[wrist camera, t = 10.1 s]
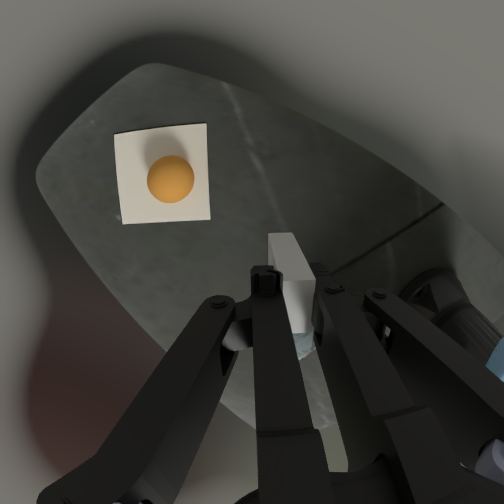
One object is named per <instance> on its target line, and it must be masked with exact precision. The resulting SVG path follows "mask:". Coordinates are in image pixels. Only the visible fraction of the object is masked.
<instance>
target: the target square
mask: <svg viewBox="0 0 504 504" xmlns="http://www.w3.org/2000/svg"><path fill="white" fill-rule="evenodd" d="M114 143H115V158H116V171H117V181H118V191H119V199H120V207H121V215H122V222H123V224H135V223H151V222H169V221H190V220H210V202H209V182H208V159H207V128H206V123H205V124H192V125H181V126H171V127H162V128H154V129H147V130H140V131H133V132H127V133H121V134H115V135H114ZM170 155H174V156H179V157H181V158H183V159H185V160H186V161H187V162H188V163H189V164H190V165H191V167H192V169H193V172H194V185H193V188H192V190H191V192H190V193H189V194H188V195H187V196H186V197H185V198H184V199H182V200H181V201H178V202H175V203H164V202H161V201H159V200H157V199H156V198H155V197H154V196H153V195H152V194H151V193H150V191H149V189H148V185H147V175H148V172H149V169H150V167H151V166H152V165H153V163H154V162H155V161H157V160H158V159H160V158H162V157H164V156H170Z"/></svg>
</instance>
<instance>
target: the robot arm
mask: <svg viewBox="0 0 504 504" xmlns="http://www.w3.org/2000/svg"><path fill="white" fill-rule="evenodd" d="M312 324H313V327H314V332H313V340H312V348H311V352H313V351H314V348H315V347H316V350H317V353H318V357H319V360H320V363H321V366H322V370H323V373H324V376H325V380H326V383H327V387H328V390H329V393H330V397H331V400H332V404H333V407H334V411H335V414H336V418H337V421H338V425H339V429H340V432H341V436H342V440H343V443H344V446H345V450H346V455H347V458H348V472H329V469H328V464H327V460H326V455H325V451H324V446H323V442H322V438H321V434H320V432H319V430H318V429H314V427H313V424H312V419H311V414H310V410H309V405H308V400H307V396H306V391H305V387H304V382H303V378H302V373H301V369H300V364H299V360H298V355H297V351H296V347H295V342H294V338H293V334H295V333H309V332H311V326H312ZM386 326H387V327H389V328H390V330H391V331H390V335H389V337H388V336H387V335H385V330H386ZM249 347H253V362H254V389H255V415H256V440H257V464H258V465H257V466H258V489H257V490H254V491H252V492H250V493H248V494H247V495H245V496H244V497H242V498H241V499H239V500H238V501H237V502H236V503H234V504H504V335H503V334H502V333H501V332H500V331H499V330H498V329H497V328H496V327H495V326H494V325H493V324H492V323H491V322H490V321H489V320H488V319H487V318H486V317H485V316H484V315H483V314H482V313H481V312H480V311H478V310H477V309H476V308H475V307H474V306H473V305H472V304H471V302H470V300H469V298H468V296H467V295H466V293H465V291H464V289H463V287H462V285H461V282H460V281H459V279H458V278H457V277H456V276H455V275H453V274H452V273H451V272H450V271H448V270H446V269H442V268H436V269H432V270H429V271H426V272H424V273H422V274H421V275H419V276H418V277H416V278H415V279H414V280H413V281H412V282H411V283H410V284H409V285H408V286H407V287H406V288H405V289H404V291H403V292H402V293H401V295H400V297H397V296H396V295H395V294H393V293H392V292H391V291H389V290H387V289H384V288H382V287H372V288H369V289H367V290H366V291H365V295H364V296H354V295H351V294H350V293H349V291H348V290H347V288H346V287H344V286H343V285H340V284H337V283H335V281H334V279H333V278H332V276H331V275H330V273H329V272H328V270H327V268H326V267H325V266H324V265H322V264H321V263H307V261H306V259H305V257H304V255H303V253H302V251H301V249H300V247H299V245H298V243H297V241H296V239H295V237H294V235H293V233H268V265H264V266H254V267H253V268H252V269H251V296H250V297H249V298H248V299H246V300H244V301H242V302H238V303H235V301H234V299H233V298H231V297H228V296H224V295H216V296H212V297H210V298H207V299H206V300H205V301H204V302H203V303H202V304H201V306H200V307H199V308H198V310H197V311H196V313H195V314H194V315H193V317H192V318H191V320H190V321H189V322H188V324H187V325H186V327H185V328H184V329H183V331H182V332H181V334H180V335H179V336H178V338H177V339H176V341H175V342H174V343H173V345H172V346H171V348H170V349H169V350H168V352H167V353H166V355H165V356H164V357H163V359H162V360H161V362H160V363H159V364H158V366H157V367H156V369H155V370H154V371H153V373H152V374H151V376H150V377H149V379H148V380H147V382H146V383H145V384H144V386H143V387H142V388H141V390H140V391H139V393H138V394H137V396H136V397H135V398H134V400H133V401H132V403H131V404H130V406H129V407H128V408H127V410H126V411H125V413H124V414H123V416H122V417H121V419H120V420H119V421H118V423H117V424H116V426H115V427H114V429H113V430H112V432H111V433H110V434H109V436H108V437H107V439H106V440H105V442H104V443H103V444H102V446H101V447H100V449H99V450H98V452H97V453H96V454H95V455H94V456H93V457H91V458H90V459H88V460H87V461H85V462H84V463H83V464H81V465H80V466H78V467H77V468H75V469H74V470H72V471H71V472H69V473H68V474H66V475H65V476H63V477H62V478H60V479H59V480H57V481H55V482H54V483H52V484H51V485H49V486H48V487H46V488H45V489H44V490H43V491H42V492H41V493H40V494H39V496H38V499H37V501H36V502H37V504H173V503H174V501H175V499H176V497H177V495H178V493H179V491H180V489H181V487H182V485H183V483H184V480H185V478H186V476H187V474H188V471H189V469H190V467H191V465H192V462H193V460H194V458H195V455H196V453H197V451H198V449H199V447H200V444H201V442H202V440H203V437H204V435H205V433H206V431H207V428H208V426H209V424H210V421H211V419H212V417H213V414H214V412H215V409H216V407H217V404H218V402H219V400H220V398H221V395H222V393H223V390H224V388H225V386H226V383H227V381H228V378H229V376H230V374H231V371H232V369H233V366H234V364H235V361H236V359H237V356H238V350H241V349H245V348H249ZM460 462H461V463H462V464H463V465H464V466H465V467H467V468H468V469H467V468H465V467H463V466H461V464H460ZM469 469H470V470H469Z"/></svg>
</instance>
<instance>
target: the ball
mask: <svg viewBox="0 0 504 504" xmlns="http://www.w3.org/2000/svg"><path fill="white" fill-rule="evenodd" d="M147 185H148V189H149V191H150V193H151V194H152V195H153V196H154V197H155V198H156V199H157V200H159V201H161V202H164V203H175V202H178V201H181V200H182V199H184V198H185V197H186V196H187V195H188V194H189V193H190V192H191V190H192V188H193V185H194V172H193V169H192V167H191V165H190V164H189V163H188V162H187V161H186V160H185V159H183V158H181V157H179V156H174V155H170V156H164V157H162V158H160V159H158V160H157V161H155V162H154V163H153V165H152V166H151V167H150V169H149V172H148V175H147Z"/></svg>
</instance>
